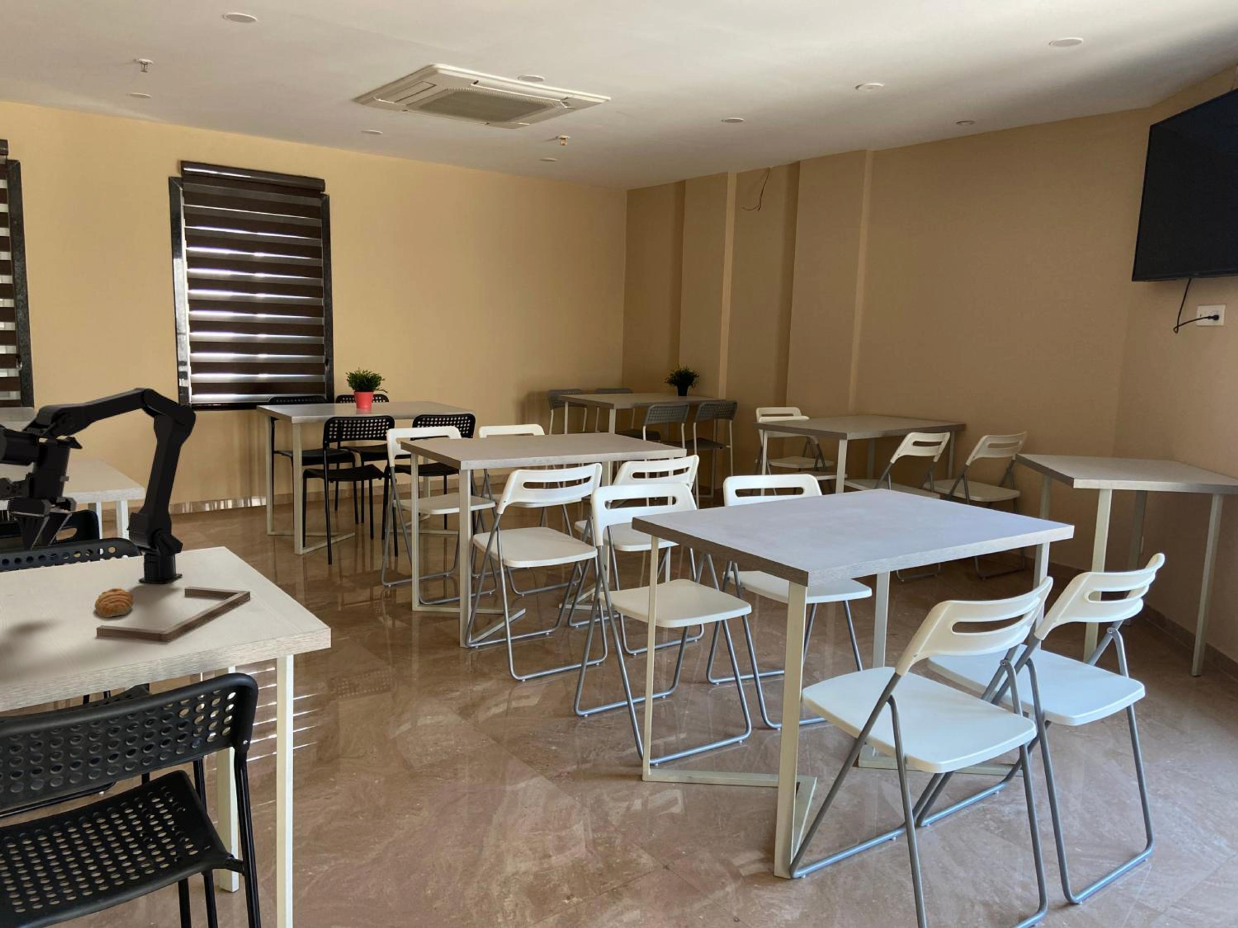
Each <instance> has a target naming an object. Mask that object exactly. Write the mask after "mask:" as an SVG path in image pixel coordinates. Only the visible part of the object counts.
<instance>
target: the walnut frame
mask: <svg viewBox="0 0 1238 928" xmlns="http://www.w3.org/2000/svg"><path fill="white" fill-rule="evenodd" d="M184 596H188V597H189V596H190V597H202V598H203V597H204V598H213V599H215V598H216V599H224V598H228V599H224V600H223V601H220V602H218V603H217V604H214V605H213V606H210V607H209V608H206V609H205V610H202V611H200V612H199V613H196V614H195V615H192V616H190V617H189V618H186V619H184V620H182V621H180V622H178V623H176V624H175V625H172V626H171V627H170V626H169V628H167V629H164V630H159V629H150V628H149V629H148V628H138V627H127V626H116V625H104V624H101V625H99V626H97V627H96V636H97V637H106V638H117V639H118V638H120V639H128V640H129V639H130V640H139V641H140V640H141V641H151V642H164V643H168V642H169V641H171V640H173V639H175V638H177V637H179V636H181V635H183V634H184V633H187V632H189V631H190V630H192V629H194V628H197V627H198V626H200V625H202V624H204V623H205V622H208V621H210V620H212V619H213V618H215V617H217V616H219V615H221V614H223V613H225V612H227V611H228V610H230V608H231V609H232V608H235V607H236V606H238V605H240V604H242V603H244V602H246V601H248V600H249V599H248V598H250V599H251V591H250V590H239V589H238V590H237V589H226V588H216V587H215V588H214V587H213V588H212V587H202V586H200V587H199V586H191V585H190V586H186V587H184ZM247 599H248V600H247ZM245 600H246V601H245ZM243 601H244V602H243ZM241 602H242V603H241ZM239 603H240V604H239ZM235 605H236V606H235ZM226 610H227V611H226Z"/></svg>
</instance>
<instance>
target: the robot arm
mask: <svg viewBox="0 0 1238 928" xmlns="http://www.w3.org/2000/svg"><path fill="white" fill-rule="evenodd" d="M138 410H141V411H143V412H144V414H146V415H147V416H149V417H151V418H152V419H153V428H152V429H153V431H154V435H155V438H156V447H155V450H154V451H155V452H154V455H153V461H152V464H151V469H150V473H149V474H150V475H149V479H148V484H147V487H146V494H145V498H144V503H143V505H142V507H141V508H140V509H139V510H138V512H134V511H131V513H130V515H129V523H128V526H127V528H126V529H125V530H126V531H128V539H129V540H130V541H131V543H132V544H133V545H134V546H135V548H136V550H137V552H139V553H141V552H142V553H144V554H143V563H142V564H143V576H142V578H139V579H138V582H140V583H151V584H152V583H153V584H163V585H164V584H167V583H170V582H172V581H174V580H177V579H180V578H181V577H183V573H177V565H176V564H177V563H176V555H177V554H181V553H182V549H183V546H184V543H183V542H182V541H181V540H180V539H178V538H177V537H176V536H174V535H173V534H172V533H173V532H172V531H173V521H172V516H171V514H170V511H169V509H170V508H169V507H170V501H171V498H172V492H173V488H174V484H175V479H176V473H177V469H178V465H179V459H180V456H181V451H182V446H183V445H184V443H185V442H186V441H187V440H188V439H189V438H190V436H191V434H192V432H193V430H194V427H195V425H196V422H197V413H196V412H195V411H194V409H193V408H192V407H191V406H190V405H187V404H181V403H179V402H177V401H175V400H173V399H171V398H169V397H167V396H165V395H162V393H159V392H158V391H157V390H155V389H153V388H149V387H135V388H134V389H131V390H128V391H123V392H119V393H116V394H111V395H108V396H104V397H101V398H97V399H94V400H89V401H86V402H80V403H61V404H60V403H59V404H58V403H57V404H48V405H44V406H42V407H41V408H38V411H37V413H36V416H35V418H33V419H32V420H31V421H30V422H29V423H28V424H27V425H26V426H25V427H23V429H21V431H19V430H14V429H12V428H5V427H0V465H7V466H16V467H26V468H27V467H29V466H31V465H32V469H31V471H28V472H27V473H25V475H24V476H25V478H24V479H19V480H12V479H10V477H0V501H1V502H5V501H7V505H6V506H7V507H6V512H9V515H10V516H12V517H13V518H15V520H16V521H17V522H18V524H19V528H20V534H21V540H22V547H23V548H22V549H23V550H25V551H31V550H33V548H34V546H35V544H36V542H37V540H38V539H39V537H40V535H41V546H42V547H44V548H45V547H46V548H47V547H50V545H51V544H52V542H53V541H54V539H55V538H56V536H57V535H58V533H59V532H60V531H61V529H62V528H63V527H64V525H65V524H66V523H67V521H68V520H69V518H70V517H72V515H73V512H76V509H77V503H78V502H77V500H75V498H74V497H70V496H63V495H64V488H65V485H66V482H70V481H69V480H70V476H68V475H67V474H68V473H67V472H68V466H69V462H70V461H69V460H70V455H71V449H75V450H82V449H84V448H83V446H82V445H81V443H79V441H78V440H77V438H76V437H75V436H73V435H75V434H78V433H80V432H82V431H83V430H86V429H87V428H88V427H90V425H92V424H94V423H96V422H98V421H101V420H106V419H109V418H113V417H116V416H120V415H124V414H128V413H130V412H133V411H134V412H135V411H138ZM59 437H65V438H59ZM40 439H45V441H40ZM66 511H67V512H66Z"/></svg>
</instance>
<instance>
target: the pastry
mask: <svg viewBox="0 0 1238 928" xmlns="http://www.w3.org/2000/svg"><path fill="white" fill-rule="evenodd" d="M134 603H135V602H134V600H133V595H132V593H131V592H129V591H126V590H125V589H122V588H118V587H116V588H110V589H107V590H105V591H103V592H102V593H101V594H99V595H98V598H97V600H95V603H94V609H95V611H96V612H97V613H98V615H100V616H101V617H103V618H104V617H105V618H111V617H115V616H125V615H126V614H128V613H129V612H131V611H132V609H133V607H134ZM130 610H131V611H130ZM127 612H128V613H127Z"/></svg>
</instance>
